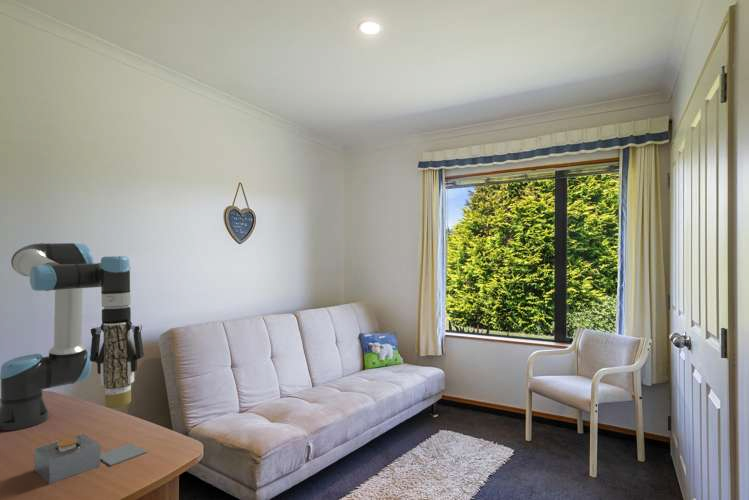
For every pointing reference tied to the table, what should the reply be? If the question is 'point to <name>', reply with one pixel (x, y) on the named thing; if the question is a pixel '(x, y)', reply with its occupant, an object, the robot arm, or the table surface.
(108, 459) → the mat
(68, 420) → the table surface
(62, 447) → the plunger
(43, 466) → the block
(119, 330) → the paper tube
